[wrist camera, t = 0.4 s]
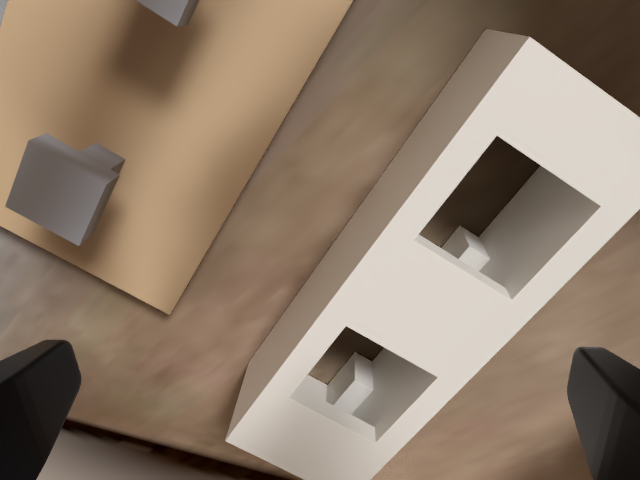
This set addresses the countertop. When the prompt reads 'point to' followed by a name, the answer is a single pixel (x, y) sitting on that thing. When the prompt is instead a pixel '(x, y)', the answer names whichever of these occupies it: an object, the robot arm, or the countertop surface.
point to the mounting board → (144, 124)
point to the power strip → (441, 263)
